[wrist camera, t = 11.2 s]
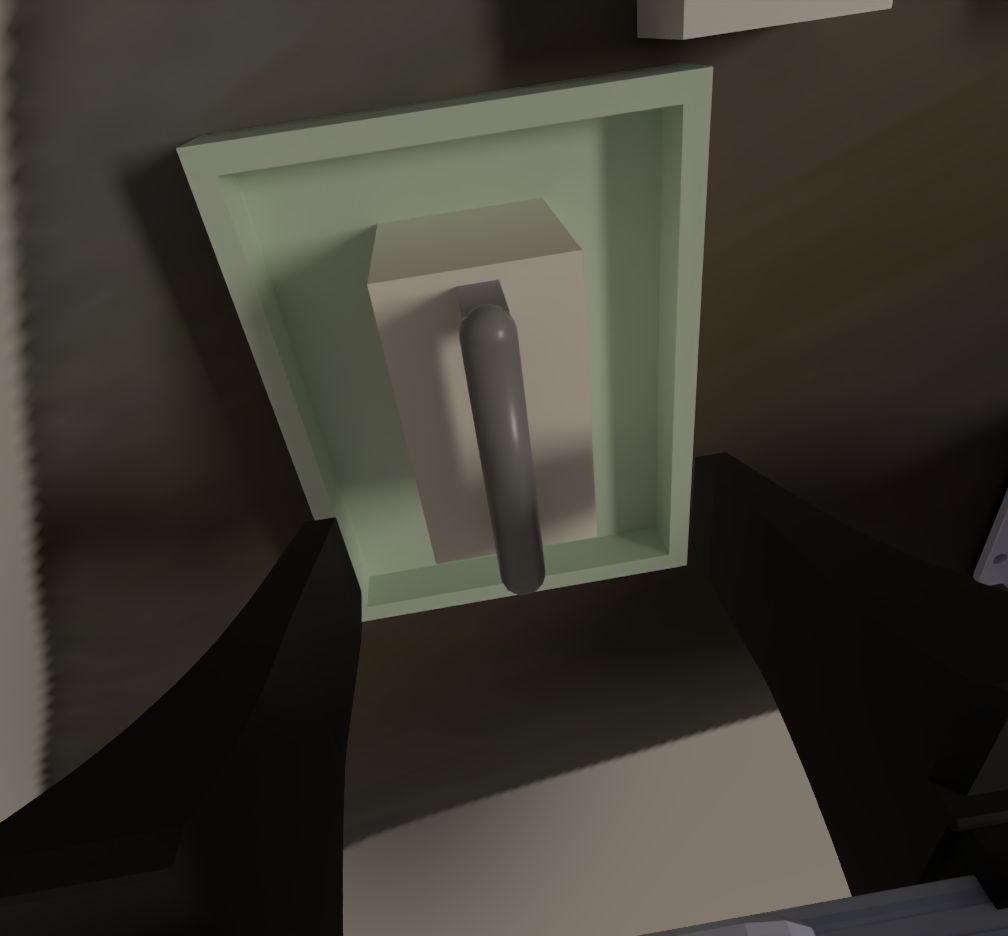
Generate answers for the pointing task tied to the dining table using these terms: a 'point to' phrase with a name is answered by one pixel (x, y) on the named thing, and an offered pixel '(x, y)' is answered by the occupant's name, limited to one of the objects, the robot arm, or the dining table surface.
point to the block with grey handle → (490, 379)
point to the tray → (453, 187)
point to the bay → (737, 15)
